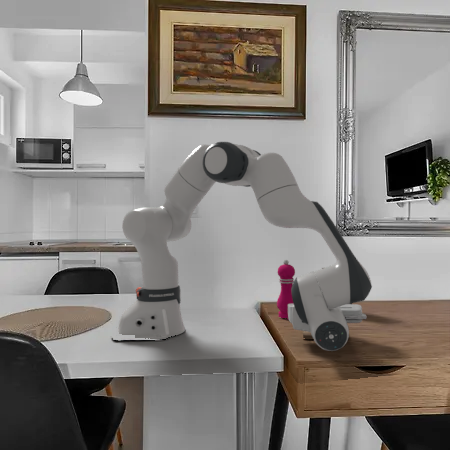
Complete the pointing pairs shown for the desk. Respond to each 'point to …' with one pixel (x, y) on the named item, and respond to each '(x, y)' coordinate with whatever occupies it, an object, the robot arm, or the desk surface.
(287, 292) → the pepper mill
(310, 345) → the desk surface
